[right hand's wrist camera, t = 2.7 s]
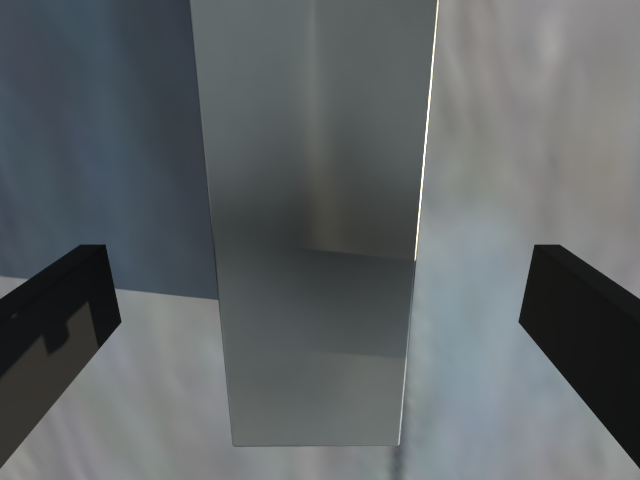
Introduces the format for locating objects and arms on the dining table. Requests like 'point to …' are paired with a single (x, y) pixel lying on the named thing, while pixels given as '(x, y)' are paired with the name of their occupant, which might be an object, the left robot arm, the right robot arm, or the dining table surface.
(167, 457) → the dining table surface
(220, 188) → the bar
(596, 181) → the dining table surface
